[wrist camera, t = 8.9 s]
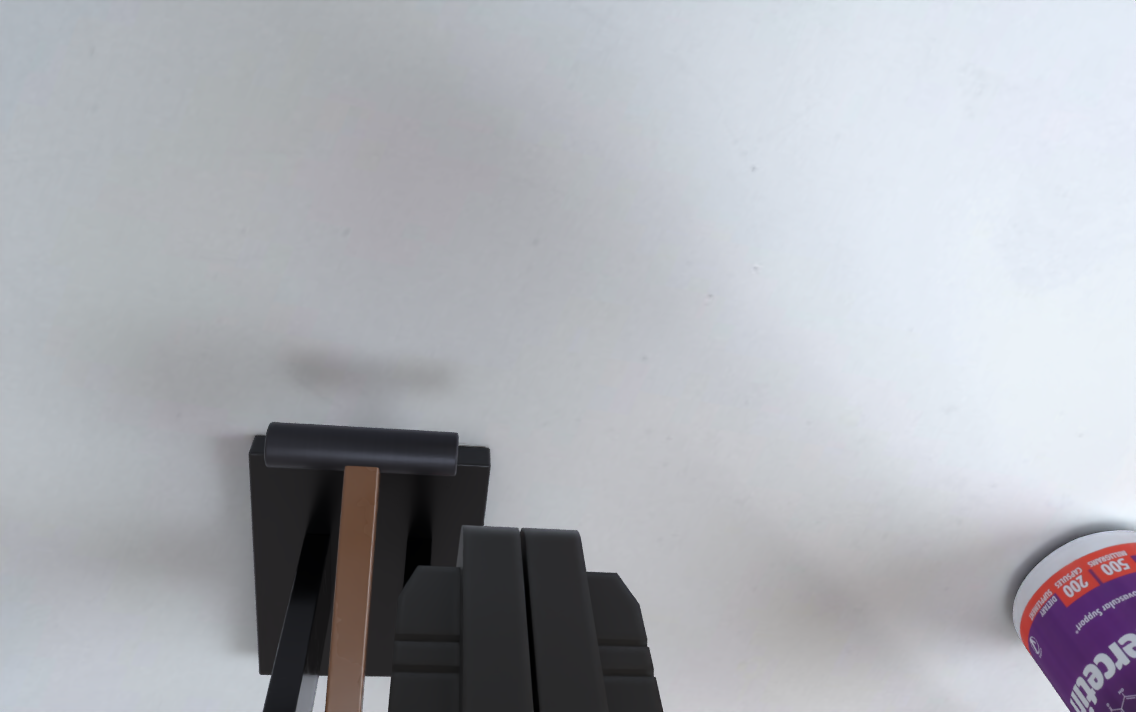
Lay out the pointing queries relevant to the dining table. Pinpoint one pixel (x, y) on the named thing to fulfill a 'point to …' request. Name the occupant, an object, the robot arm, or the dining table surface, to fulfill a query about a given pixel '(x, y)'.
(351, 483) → the lever
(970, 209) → the dining table surface
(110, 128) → the dining table surface
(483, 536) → the robot arm
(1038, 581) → the pill bottle
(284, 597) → the bracket
